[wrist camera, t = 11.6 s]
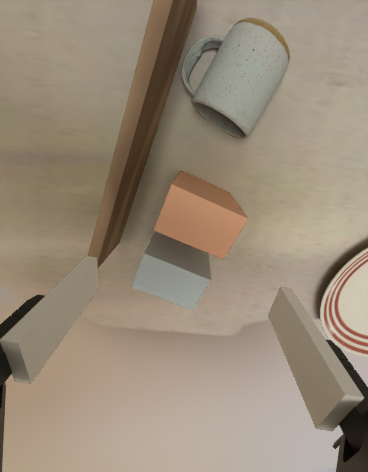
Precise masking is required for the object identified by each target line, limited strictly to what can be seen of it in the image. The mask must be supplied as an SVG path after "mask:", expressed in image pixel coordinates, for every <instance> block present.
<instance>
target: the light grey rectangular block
mask: <svg viewBox="0 0 368 472" xmlns="http://www.w3.org/2000/svg"><path fill="white" fill-rule="evenodd" d="M210 281H211V275H210V265H209V255H208V253H207V252H204V251H202V250H200V249H197V248H195V247H192V246H190V245H188V244H185V243H183V242H180V241H178V240H176V239H173V238H171V237H168V236H166V235H164V234H161V233H159V232H156V231H155V233H154V235H153V237H152V239H151V241H150V243H149V245H148V247H147V249H146V251H145V253H144V255H143V258H142V260H141V263H140V265H139V268H138V270H137V273H136V275H135V278H134V280H133V283H132V285H131V287H132V288H135V289H138V290H140V291H143V292H145V293H148V294H151V295H153V296H156V297H159V298H161V299H164V300H167V301H169V302H172V303H174V304H177V305H180V306H182V307H185V308H188V309H190V310H193V309H194V307H195V306H196V304H197V302H198V301H199V299H200V297H201V296H202V294H203V293H204V291H205V289H206V288H207V286H208V285H209V283H210Z"/></svg>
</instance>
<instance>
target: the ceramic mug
mask: <svg viewBox="0 0 368 472" xmlns="http://www.w3.org/2000/svg"><path fill="white" fill-rule="evenodd" d="M210 48H219V50H218V52H217V54H216V56H215V58H214V60H213V62H212V63H211V65H210V67H209V69H208V70H207V72H206V74H205V76H204V78H203V80H202V82H201V83H200V85H199V87H198V89H197V91H196V92H194V91H193V90H192V89H191V87H190V86H189V82H188V78H189V73H190V71H191V70H192V68H193V66H194V64H195V63H196V61H197V59H198V58H199V57H200V56H201V53H202V52H203V51H205V50H207V49H210ZM289 59H290V55H289V49H288V46H287V44H286V42H285V40H284V38H283V36H282V35H281V34H280V33H279V32H278V30H277V29H275V28H274V27H273V26H272V25H270V24H269V23H267V22H265V21H263V20H260V19H256V18H247V19H243V20H240V21H239V22H237V23H236V24H235V25H234V26H233V27H232V29H231V30H230V31H229V33H228V34H227V35H226V37H225V38H223V37H221V36H216V35H208V36H205V37H203V38H201V39H200V40H198V41H197V42H196V43H195V44H194V45H193V46H192V48H191V49H190V50H189V52H188V53H187V55H186V57H185V60H184V62H183V65H182V78H183V82H184V85H185V87H186V89H187V90H188V91H189V93H190V94H191V95H192V97H193V98H192V104H193V106H194V107H195V109H196V110H197V111H198V112H199V113H200V114H201V115H202V116H203V117H205V118H206V119H207V120H209V121H210V122H211V123H213V124H214V125H215V126H217V127H218V128H220V129H221V130H223V131H225V132H227V133H229V134H231V135H233V136H235V137H239V138H247V137H248V136H249V135H250V134H251V132H252V130H253V128H254V127H255V125H256V123H257V122H258V120H259V118H260V117H261V115H262V113H263V112H264V110H265V108H266V106H267V105H268V103H269V101H270V99H271V98H272V96H273V94H274V93H275V91H276V90H277V88H278V86H279V85H280V83H281V81H282V79H283V77H284V75H285V72H286V70H287V67H288V64H289Z"/></svg>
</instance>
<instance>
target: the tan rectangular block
mask: <svg viewBox="0 0 368 472" xmlns="http://www.w3.org/2000/svg"><path fill="white" fill-rule="evenodd" d="M247 221H248V217H247V216H246V215H245V213H244V212H243V210H242V209H241V208H240V206H239V205H238V204H237V202H236V201H235V199H234V198H233V197H232V195H231V194H230V193H229V192H227V191H225V190H222V189H220V188H218V187H216V186H214V185H212V184H209V183H207V182H205V181H203V180H201V179H199V178H196V177H194V176H192V175H190V174H188V173H185V172H183V171H181V172H180V173H179V175H178V176H177V178H176V179H175V180H174V182H173V183H172V184H171V187H170V190H169V192H168V195H167V197H166V200H165V202H164V205H163V207H162V210H161V212H160V215H159V217H158V220H157V222H156V225H155V227H154V231H156V232H159V233H161V234H164V235H166V236H168V237H171V238H173V239H176V240H178V241H180V242H183V243H185V244H188V245H190V246H192V247H195V248H197V249H200V250H202V251H204V252H207V253H209V254H212V255H214V256H217V257H219V258H221V259H224V258H225V257H226V255H227V253H228V252H229V250H230V248H231V247H232V245H233V244H234V242H235V240H236V239H237V237H238V235H239V234H240V232H241V230H242V229H243V227H244V226H245V224H246V222H247Z"/></svg>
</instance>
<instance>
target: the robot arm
mask: <svg viewBox="0 0 368 472" xmlns="http://www.w3.org/2000/svg"><path fill="white" fill-rule="evenodd" d="M98 289H99V284H98V264H97V258H96V257H90V256H86V257H85V258H84V259H83V260H82V261H81V262H80V263H79V264H78V265H77V266H76V267H75V268H74V269H73V270H71V271H70V272H69V273H68V274H67V275H66V276H65V277H64V278H63V279H62V280H61V281H60V282H59V283H58V284H57V285H56V286H55V287H54V288H53V289H52V290H51V291H50V292H49V293H48V294H47V295H46V296H44V295H36V296H35V297H33V298H31V299H29V300H27V301H26V302H25V303H24V304H23V305H22V306H21V307H20V308H19V309H18V310H16V311H15V312H14V313H13V314H12V316H9V317H8V318H7V319H6V320H5V321H4V322H3V323H2V324H0V472H2V457H3V436H4V435H3V434H4V415H5V394H6V385H5V381H6V380H7V379H8V377H9V376H10V375H11V374H12V375H13V378H14V381H16V382H23V383H29V384H31V383H32V382H33V381H34V379H35V378H36V376H37V375H38V374H39V372H40V371H41V369H42V368H43V366H44V365H45V364H46V362H47V361H48V359H49V358H50V356H51V355H52V354H53V352H54V351H55V349H56V348H57V347H58V345H59V344H60V342H61V341H62V340H63V338H64V337H65V335H66V334H67V333H68V331H69V330H70V328H71V327H72V325H73V324H74V323H75V321H76V320H77V318H78V317H79V316H80V314H81V313H82V311H83V310H84V308H85V307H86V306H87V304H88V303H89V301H90V300H91V299H92V297H93V296H94V294H95V293H96V292H97V290H98ZM268 316H269V319H270V321H271V323H272V326H273V328H274V331H275V333H276V335H277V338H278V340H279V342H280V345H281V347H282V350H283V352H284V354H285V357H286V359H287V361H288V364H289V366H290V368H291V371H292V373H293V376H294V378H295V380H296V383H297V385H298V387H299V390H300V392H301V394H302V397H303V399H304V401H305V404H306V406H307V409H308V411H309V414H310V416H311V418H312V421H313V423H314V425H315V428H316V429H321V430H327V431H333V430H334V429H335V428H336V427H337V426H338V425H340V427H341V429H342V431H343V433H344V434H343V435H342V436H341V437H340V438H339V439H338V440H337V441H336V442H335V443H334V445H333V447H334V448H335V449H336V448H337V447H338V446H339V445H340V447H339V455H338V462H337V469H336V472H368V387H367V386H366V384H365V383H364V382H363V380H362V379H361V377H360V376H359V374H358V373H357V372H356V370H354V368H353V366H352V365H351V363H350V362H348V359H347V358H346V356H345V355H344V353H343V352H342V351H341V349H340V348H338V346H336V345H335V344H334V343H333V342H332V341H331V340H325V338H324V337H323V335H322V334H321V332H320V331H319V329H318V328H317V326H316V325H315V323H314V322H313V320H312V319H311V317H310V316H309V314H308V313H307V311H306V310H305V308H304V307H303V305H302V304H301V302H300V301H299V299H298V298H297V296H296V295H295V293H294V292H293V290H292V289H291V288H285V287H280V289H279V291H278V294H277V296H276V298H275V301H274V303H273V305H272V307H271V310H270V312H269V314H268Z"/></svg>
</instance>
